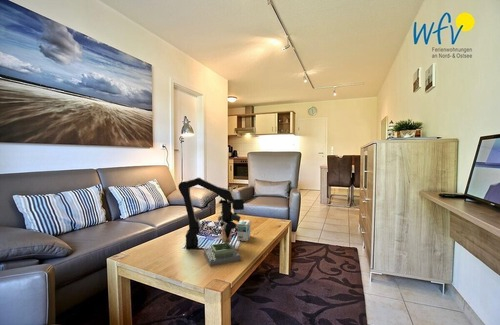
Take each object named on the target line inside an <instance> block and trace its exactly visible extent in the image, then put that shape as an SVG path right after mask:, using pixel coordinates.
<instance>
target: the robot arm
mask: <svg viewBox="0 0 500 325" xmlns="http://www.w3.org/2000/svg"><path fill="white" fill-rule="evenodd" d="M195 186H199V187H201V188H205V189H206V190H208V191H210V192H212V193H215V194H217V195H218V197H219V198H221V199H220V200H219V201H218V204H220V205H221V211H220V214H221V215H219V216H218V217H217V221H218V222H219V225H220V228H221V229H222V226H223V225H224V227H223V228H224V231H225V234H226V236H227V238H229V235H230V232H231V233H232V230H233V229H232V228H234V229H236V228H237V224H236V223H235V222H237V223H239V222H240V220H241V216H240V215H238V213H237V212H235V211H244V209H245V204H244V199H243V198H234V196H233V195H232V192H231V190H230V189H228V188H224V187H220V186H217V185H216V184H214V183H211V182H210V181H207V180H205V179H203V178H201V177H196V178H194V179H189V180H182V181H181V182H179V183H178V186H177V187H178V190H179V192H180V195H181V196H182V197H183V202H184V204H185V205H184V206H185V209H186V213H187V217H188V230H187V231H186V234H185V249H186V250H189V249H197V248H198V247H199V237H198V234H199V233H200V229H201V227H202V224H201V222H200V219H199V218H198V219H197V217H196V214H195V210H194V206H193V202H192V197H191V188H193V187H195ZM232 210H234V211H233V212H232ZM234 221H235V222H234Z"/></svg>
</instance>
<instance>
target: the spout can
mask: <svg viewBox="0 0 500 325" xmlns="http://www.w3.org/2000/svg"><path fill="white" fill-rule="evenodd" d="M223 227H224V225H223V226H222V228H221V243H227V242H228V243H229V244H230V242H232V231H231V232H230V235H229V238H227V236H226V234H225V231H224V228H223ZM234 229H235V228H232V229H231V230H234Z"/></svg>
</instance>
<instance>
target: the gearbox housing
mask: <svg viewBox="0 0 500 325" xmlns="http://www.w3.org/2000/svg"><path fill="white" fill-rule="evenodd" d="M203 254H204V257H205V258H206V261H207V262H208V265H209V267H213V266H218V265H224V264H230V263H235V262H241V261H242V256H241V254H240V253H239V252H238V251H237V249H236V248H235V247H234V246H233V244H230V242H229V243H228V242H227V243H224V242H221V243H214V244H210V247H205V248H203Z"/></svg>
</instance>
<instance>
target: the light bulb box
mask: <svg viewBox="0 0 500 325" xmlns="http://www.w3.org/2000/svg"><path fill="white" fill-rule="evenodd" d="M236 228H237V233H236V234H237V235H236V236H237V238H236V239H237V241H240V240H241V242H247V241H248V240H249V239H250V237H251V220H250V219H240V221H239V222H237V224H236Z"/></svg>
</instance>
